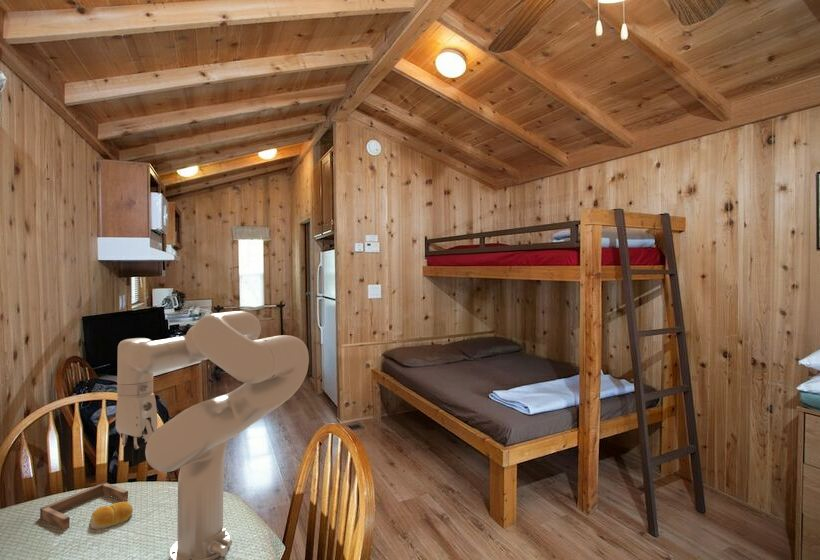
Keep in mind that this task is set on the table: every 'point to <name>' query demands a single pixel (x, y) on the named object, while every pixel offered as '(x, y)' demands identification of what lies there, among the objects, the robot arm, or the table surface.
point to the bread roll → (111, 515)
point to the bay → (61, 520)
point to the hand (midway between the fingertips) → (134, 460)
